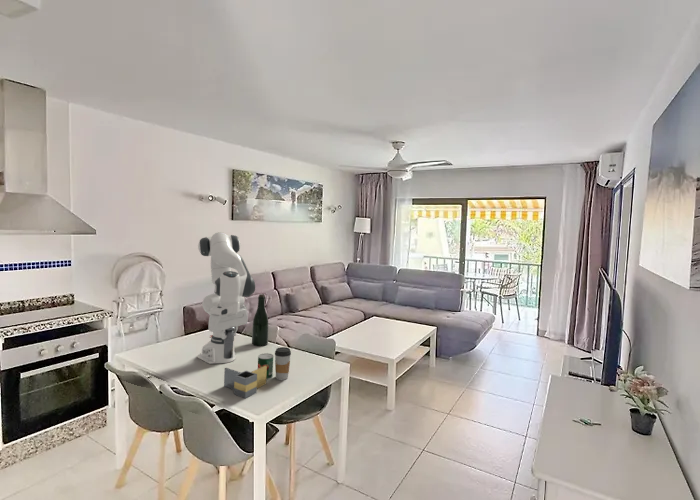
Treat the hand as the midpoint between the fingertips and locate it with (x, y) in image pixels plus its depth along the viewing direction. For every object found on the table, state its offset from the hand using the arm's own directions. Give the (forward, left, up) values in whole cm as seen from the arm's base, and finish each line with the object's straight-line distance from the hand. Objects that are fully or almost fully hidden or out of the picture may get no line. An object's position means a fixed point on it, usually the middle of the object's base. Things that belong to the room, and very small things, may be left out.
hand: (228, 337), depth 172 cm
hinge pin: (0, 0, -9) cm, 9 cm away
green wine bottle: (-38, +63, -27) cm, 79 cm away
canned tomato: (0, +26, -27) cm, 38 cm away
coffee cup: (+8, +30, -27) cm, 41 cm away
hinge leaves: (+1, +11, -27) cm, 29 cm away
